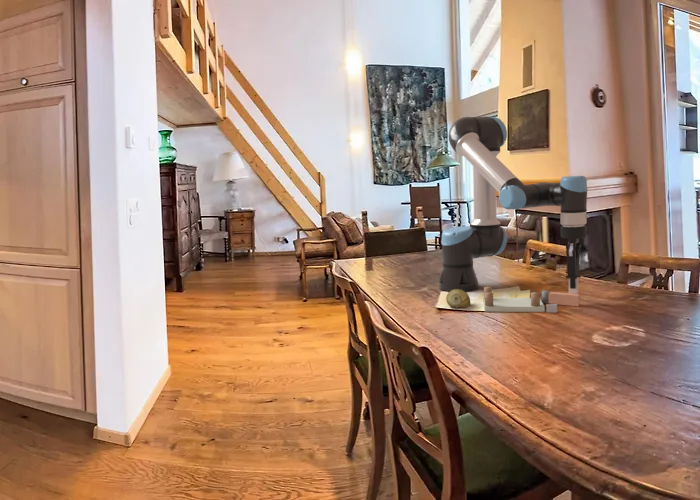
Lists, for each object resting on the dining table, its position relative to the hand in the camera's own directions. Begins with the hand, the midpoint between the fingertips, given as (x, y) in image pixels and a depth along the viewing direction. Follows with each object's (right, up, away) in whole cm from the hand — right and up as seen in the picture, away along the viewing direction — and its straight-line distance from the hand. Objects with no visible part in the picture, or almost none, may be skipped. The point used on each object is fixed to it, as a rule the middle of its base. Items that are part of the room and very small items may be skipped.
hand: (573, 297), depth 157 cm
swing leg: (-4, -2, +1) cm, 4 cm away
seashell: (-36, -4, +7) cm, 37 cm away
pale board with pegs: (-18, -3, 0) cm, 18 cm away
